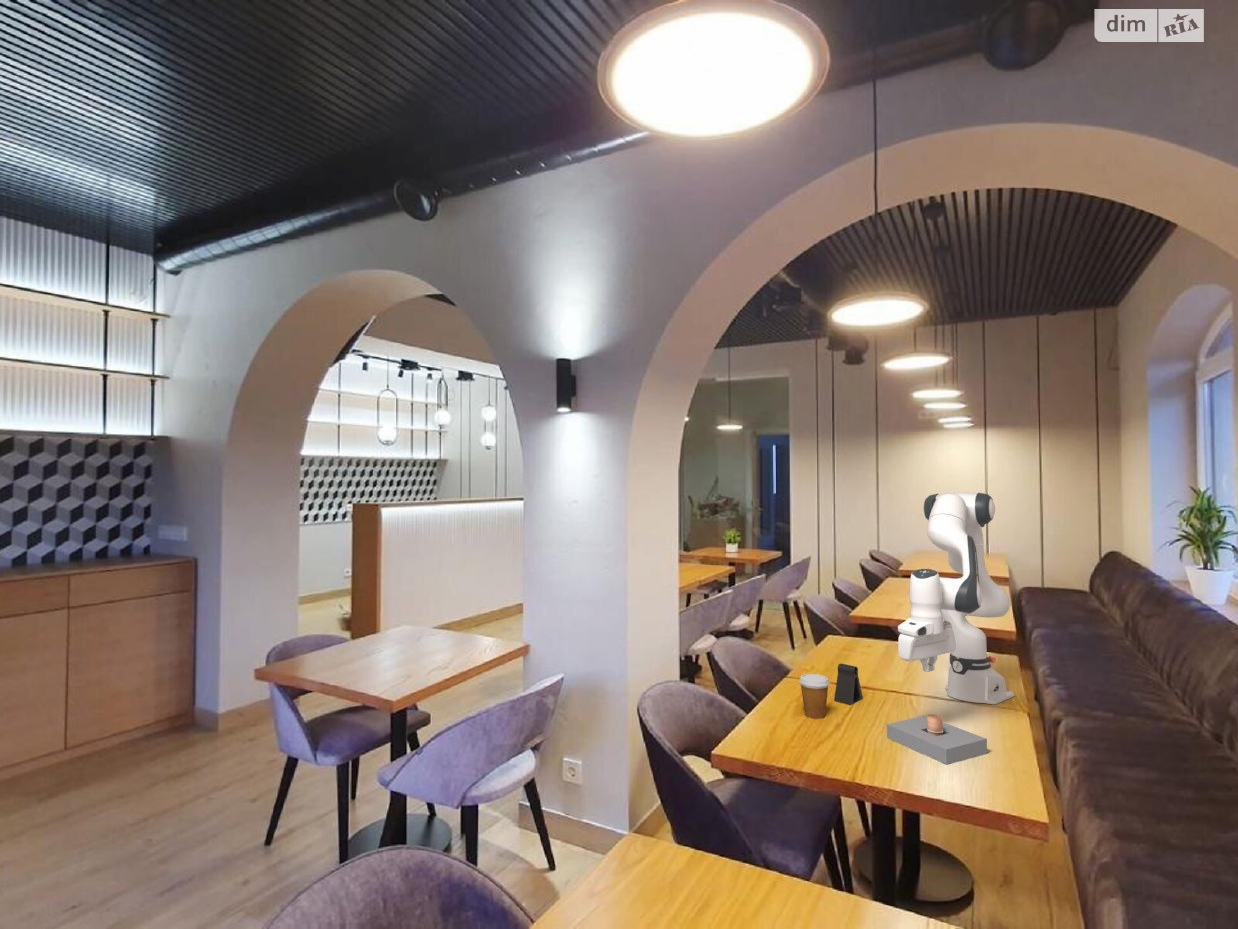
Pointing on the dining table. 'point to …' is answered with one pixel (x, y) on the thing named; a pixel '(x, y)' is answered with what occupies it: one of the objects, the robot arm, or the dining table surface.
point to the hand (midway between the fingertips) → (928, 671)
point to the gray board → (937, 740)
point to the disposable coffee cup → (814, 694)
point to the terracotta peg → (935, 725)
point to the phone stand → (848, 685)
